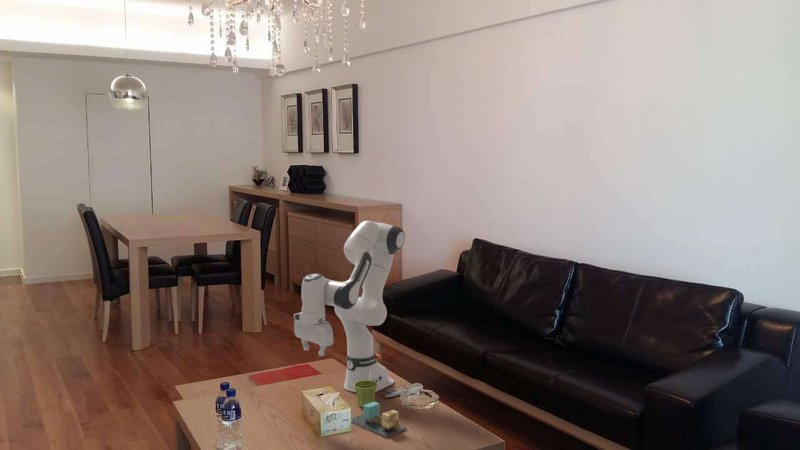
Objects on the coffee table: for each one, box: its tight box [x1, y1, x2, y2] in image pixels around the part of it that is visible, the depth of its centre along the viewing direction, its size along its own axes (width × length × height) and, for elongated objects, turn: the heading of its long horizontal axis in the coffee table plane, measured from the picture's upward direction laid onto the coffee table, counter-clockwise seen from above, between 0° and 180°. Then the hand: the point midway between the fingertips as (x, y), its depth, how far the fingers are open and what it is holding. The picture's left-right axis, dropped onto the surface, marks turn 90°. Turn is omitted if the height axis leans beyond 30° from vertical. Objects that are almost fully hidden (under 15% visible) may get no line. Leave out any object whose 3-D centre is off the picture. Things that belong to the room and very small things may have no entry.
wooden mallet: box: [361, 409, 402, 431], centre depth 247 cm, size 6×19×6 cm, turn 44°
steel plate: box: [351, 414, 407, 439], centre depth 247 cm, size 10×20×1 cm, turn 44°
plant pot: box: [354, 380, 377, 408], centre depth 267 cm, size 9×9×9 cm
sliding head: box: [362, 400, 381, 422], centre depth 249 cm, size 6×3×6 cm, turn 134°
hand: (313, 352), depth 256 cm, fingers open, 8 cm apart
